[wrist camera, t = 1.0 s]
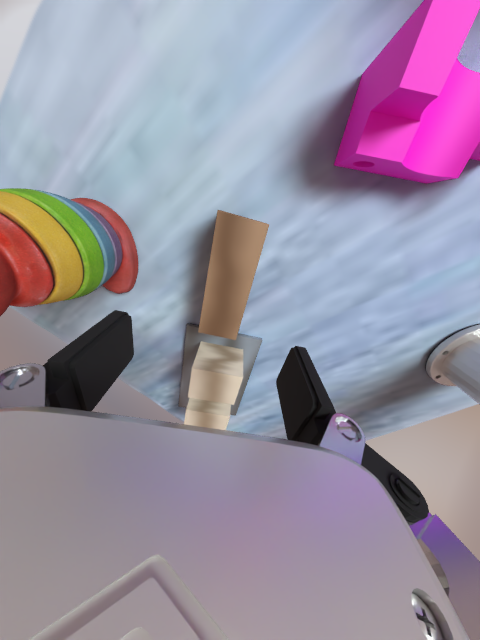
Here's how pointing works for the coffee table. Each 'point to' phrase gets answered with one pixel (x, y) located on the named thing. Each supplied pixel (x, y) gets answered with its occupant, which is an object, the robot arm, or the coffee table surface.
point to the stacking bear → (61, 248)
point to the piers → (214, 376)
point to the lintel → (230, 273)
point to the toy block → (418, 101)
